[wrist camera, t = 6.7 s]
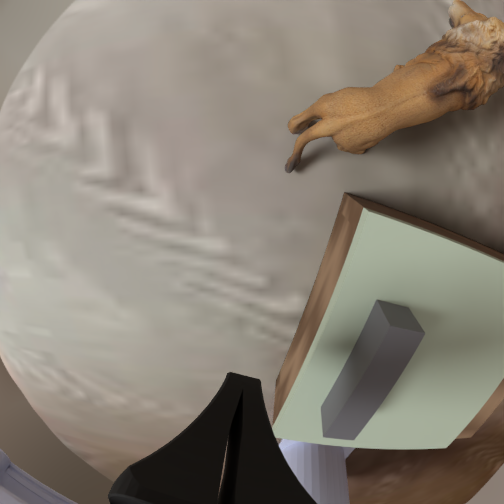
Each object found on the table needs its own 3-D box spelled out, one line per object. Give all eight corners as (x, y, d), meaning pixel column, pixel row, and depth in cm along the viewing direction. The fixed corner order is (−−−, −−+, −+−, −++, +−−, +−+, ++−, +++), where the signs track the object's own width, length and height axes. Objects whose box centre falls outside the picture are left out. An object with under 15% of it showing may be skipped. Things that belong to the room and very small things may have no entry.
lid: (443, 440, 19) (454, 468, 16) (272, 426, 19) (269, 464, 16) (545, 281, 14) (574, 302, 10) (363, 207, 14) (385, 225, 11)
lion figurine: (422, 28, 14) (487, -21, 6) (467, 89, 15) (549, 73, 7) (260, 140, 18) (239, 132, 10) (313, 206, 19) (334, 251, 11)
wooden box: (454, 404, 24) (470, 437, 19) (276, 380, 24) (272, 425, 19) (555, 196, 16) (591, 209, 11) (371, 90, 16) (397, 74, 12)
